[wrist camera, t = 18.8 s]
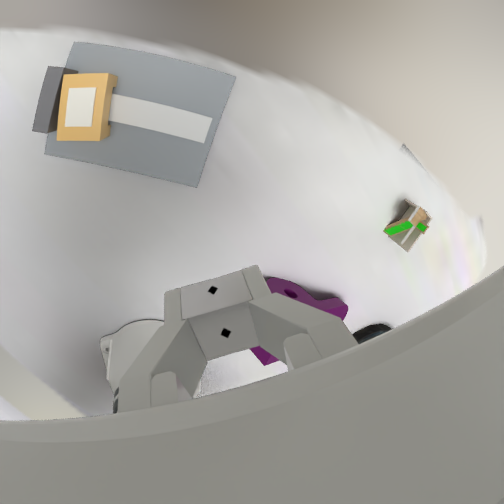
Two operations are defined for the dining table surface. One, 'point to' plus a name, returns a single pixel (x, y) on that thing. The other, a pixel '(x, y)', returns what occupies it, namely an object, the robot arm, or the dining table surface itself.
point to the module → (85, 106)
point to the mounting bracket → (299, 294)
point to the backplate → (142, 112)
